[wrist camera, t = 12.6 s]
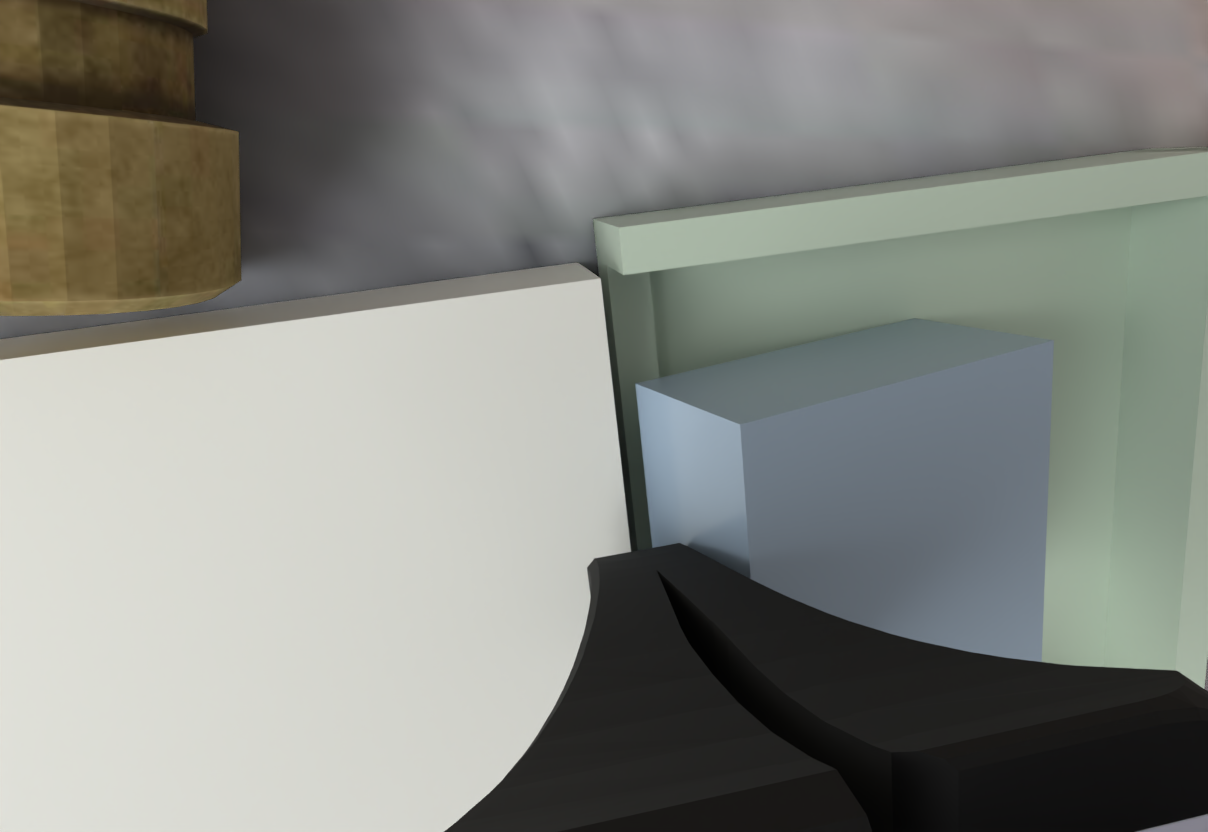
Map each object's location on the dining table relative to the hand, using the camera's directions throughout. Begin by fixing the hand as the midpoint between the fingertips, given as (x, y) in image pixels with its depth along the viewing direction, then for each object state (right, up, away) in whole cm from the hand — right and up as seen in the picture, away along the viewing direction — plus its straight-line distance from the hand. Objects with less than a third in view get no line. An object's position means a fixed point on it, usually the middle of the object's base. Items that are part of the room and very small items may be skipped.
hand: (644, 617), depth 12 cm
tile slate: (+2, +1, +2) cm, 3 cm away
